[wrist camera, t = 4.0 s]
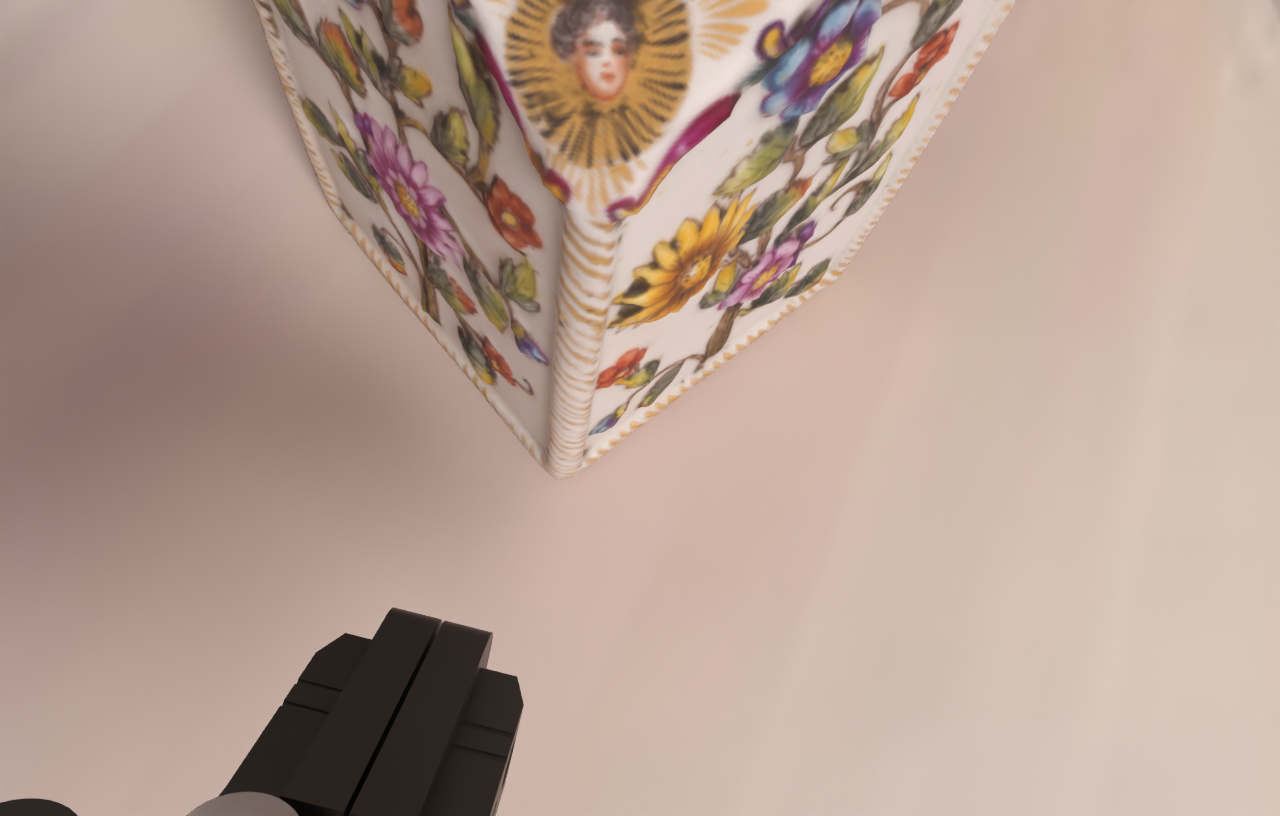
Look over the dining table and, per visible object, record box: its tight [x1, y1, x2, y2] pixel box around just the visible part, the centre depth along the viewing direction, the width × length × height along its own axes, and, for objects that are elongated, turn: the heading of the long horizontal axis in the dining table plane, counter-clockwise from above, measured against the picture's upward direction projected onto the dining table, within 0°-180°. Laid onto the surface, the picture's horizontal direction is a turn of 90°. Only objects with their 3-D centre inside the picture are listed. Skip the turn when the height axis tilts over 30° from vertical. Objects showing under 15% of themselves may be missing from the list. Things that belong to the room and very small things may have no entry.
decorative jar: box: [253, 0, 1016, 479], centre depth 20 cm, size 12×12×18 cm
